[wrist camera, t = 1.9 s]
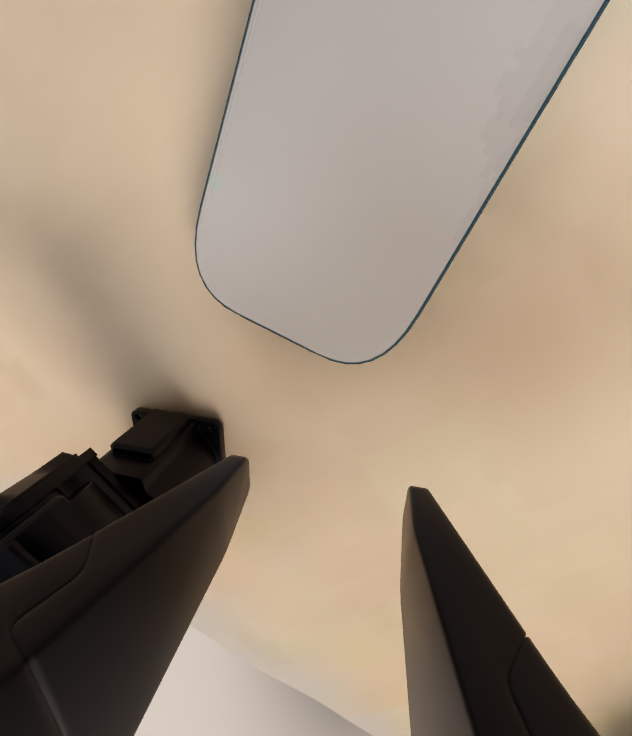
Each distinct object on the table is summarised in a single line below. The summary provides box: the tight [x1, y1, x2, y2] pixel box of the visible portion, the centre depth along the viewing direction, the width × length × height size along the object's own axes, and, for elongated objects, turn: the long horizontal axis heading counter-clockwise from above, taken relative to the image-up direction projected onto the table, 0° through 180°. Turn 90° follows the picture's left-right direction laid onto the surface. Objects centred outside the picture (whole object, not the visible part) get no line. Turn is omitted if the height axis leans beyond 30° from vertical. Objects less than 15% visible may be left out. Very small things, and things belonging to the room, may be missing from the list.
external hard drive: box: [195, 0, 610, 364], centre depth 14 cm, size 24×12×2 cm, turn 156°
